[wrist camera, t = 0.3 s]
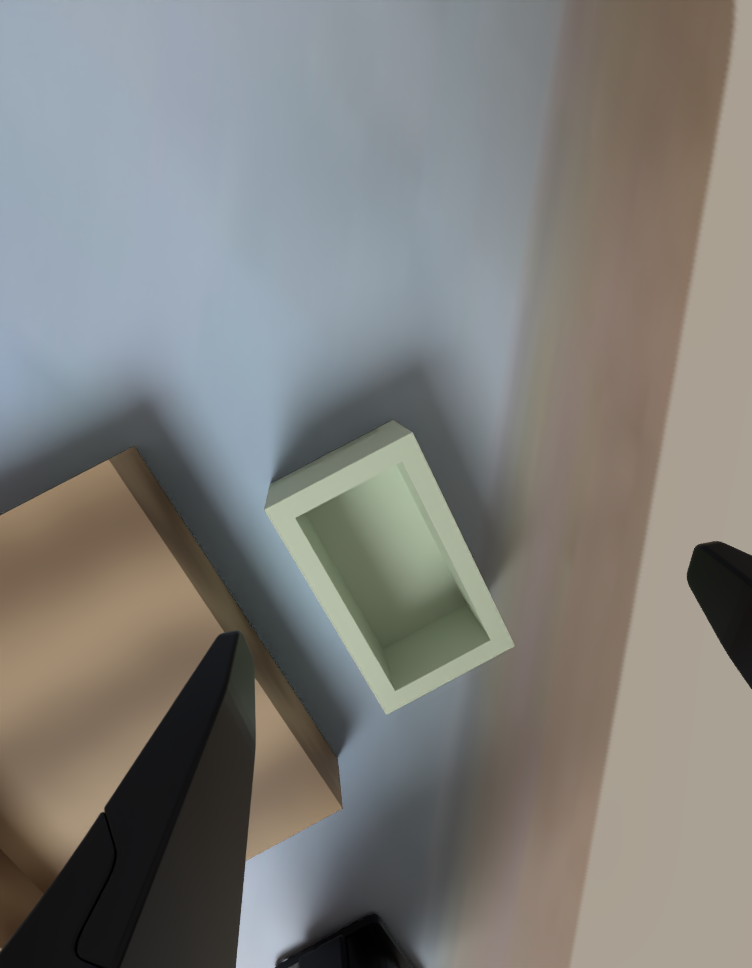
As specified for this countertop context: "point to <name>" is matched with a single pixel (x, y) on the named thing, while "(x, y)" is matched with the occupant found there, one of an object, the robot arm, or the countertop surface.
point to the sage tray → (388, 564)
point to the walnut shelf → (120, 672)
